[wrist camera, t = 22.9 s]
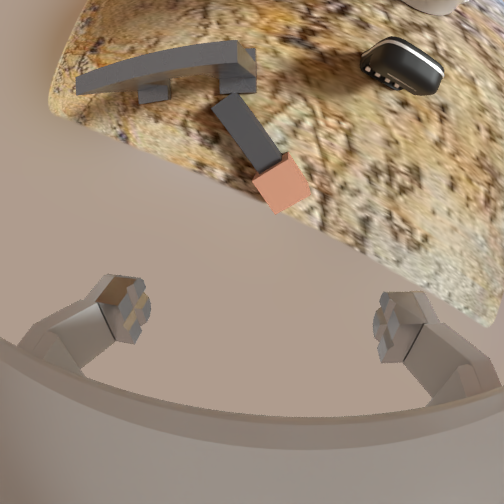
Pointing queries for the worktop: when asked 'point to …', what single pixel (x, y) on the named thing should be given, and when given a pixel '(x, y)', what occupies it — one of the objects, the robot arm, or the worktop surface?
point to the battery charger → (402, 66)
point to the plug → (263, 155)
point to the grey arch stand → (175, 71)
